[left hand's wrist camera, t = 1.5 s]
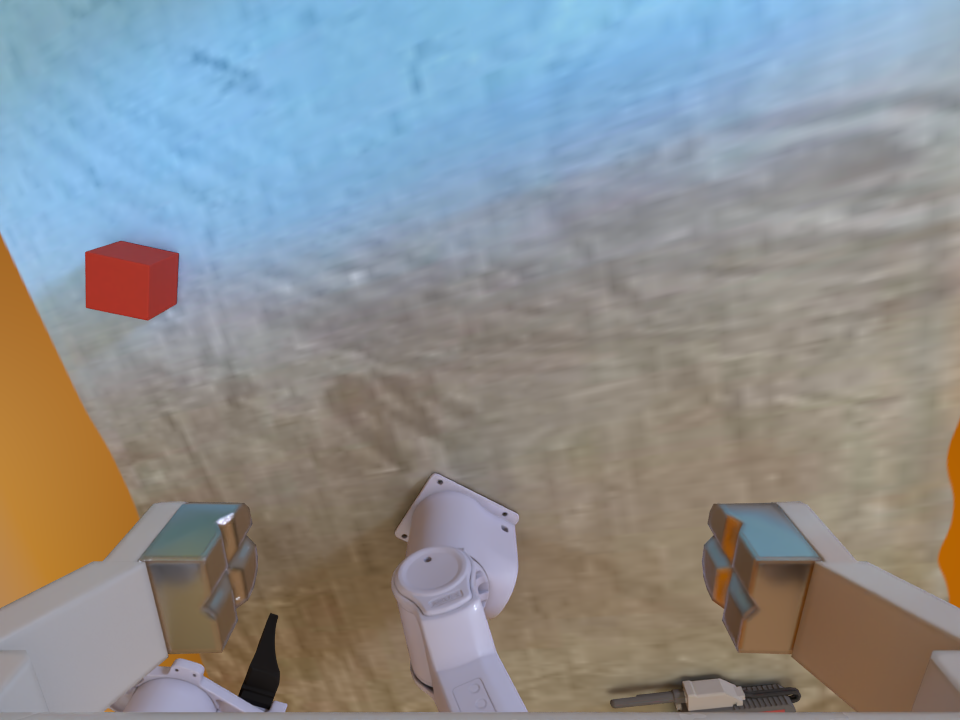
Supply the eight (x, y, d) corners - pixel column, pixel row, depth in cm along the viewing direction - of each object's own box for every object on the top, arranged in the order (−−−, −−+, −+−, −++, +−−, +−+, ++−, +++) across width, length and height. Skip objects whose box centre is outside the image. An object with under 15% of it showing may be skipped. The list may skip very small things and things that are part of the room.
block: (120, 292, 49) (85, 308, 45) (120, 240, 48) (84, 251, 43) (176, 304, 50) (148, 321, 45) (179, 253, 48) (149, 265, 44)
